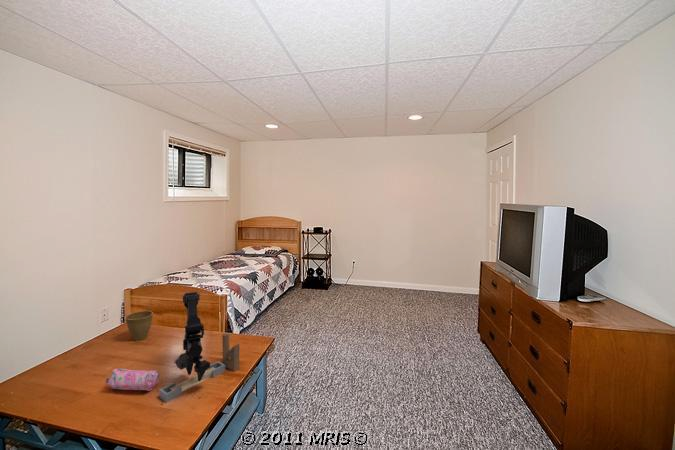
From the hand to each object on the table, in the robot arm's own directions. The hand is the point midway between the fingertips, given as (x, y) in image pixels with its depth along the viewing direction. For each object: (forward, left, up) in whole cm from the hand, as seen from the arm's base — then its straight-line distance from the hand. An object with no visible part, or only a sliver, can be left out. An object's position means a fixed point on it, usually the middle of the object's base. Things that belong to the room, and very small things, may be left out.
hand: (194, 377), depth 141 cm
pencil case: (-20, -19, -3) cm, 28 cm away
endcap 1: (0, -11, -3) cm, 11 cm away
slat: (0, 0, -3) cm, 3 cm away
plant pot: (-76, +5, -3) cm, 76 cm away
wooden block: (+2, +19, -3) cm, 19 cm away
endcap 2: (0, +11, -3) cm, 11 cm away
